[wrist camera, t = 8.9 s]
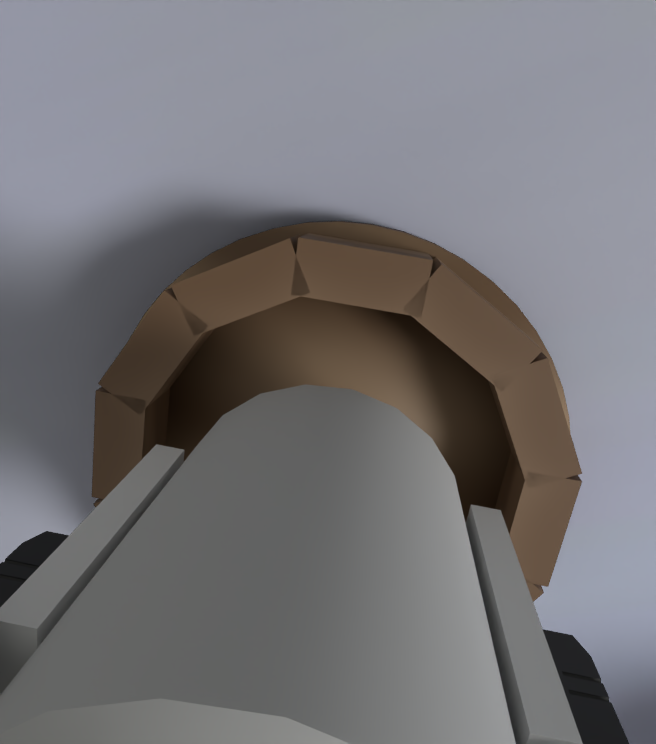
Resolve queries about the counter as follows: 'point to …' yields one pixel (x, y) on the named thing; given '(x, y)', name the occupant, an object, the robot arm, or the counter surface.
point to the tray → (354, 365)
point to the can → (280, 597)
